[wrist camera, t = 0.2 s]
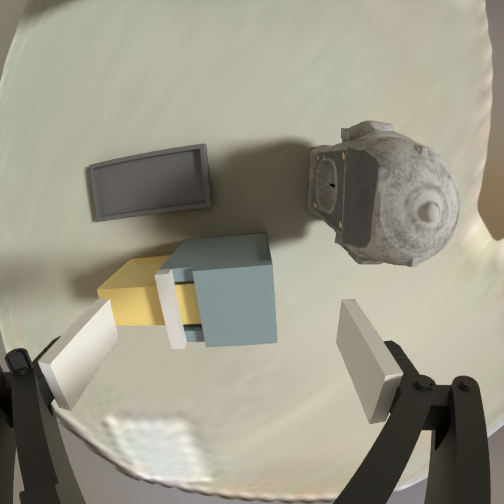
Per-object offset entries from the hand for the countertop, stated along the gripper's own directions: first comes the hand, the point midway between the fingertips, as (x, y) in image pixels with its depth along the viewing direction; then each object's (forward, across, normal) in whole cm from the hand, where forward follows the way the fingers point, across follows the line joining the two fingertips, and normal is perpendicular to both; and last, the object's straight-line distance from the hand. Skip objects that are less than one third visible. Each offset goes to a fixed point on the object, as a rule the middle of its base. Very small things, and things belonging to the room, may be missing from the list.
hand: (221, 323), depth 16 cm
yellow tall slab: (+28, -10, -7) cm, 30 cm away
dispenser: (+28, -2, -6) cm, 28 cm away
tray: (+28, -13, +6) cm, 31 cm away
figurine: (+28, +14, +6) cm, 32 cm away
